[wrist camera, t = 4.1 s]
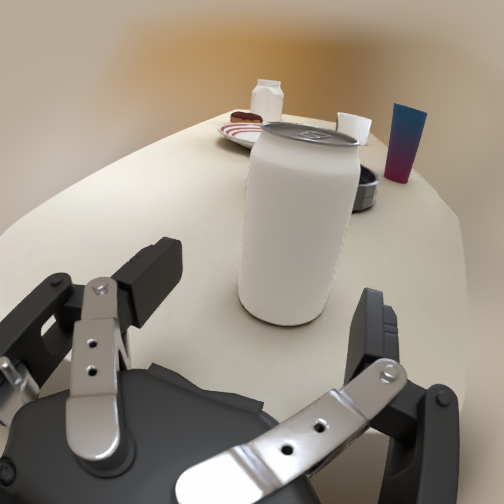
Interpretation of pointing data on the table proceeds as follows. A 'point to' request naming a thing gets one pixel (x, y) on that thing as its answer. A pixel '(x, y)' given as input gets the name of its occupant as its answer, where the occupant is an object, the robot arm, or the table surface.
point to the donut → (245, 118)
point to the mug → (354, 126)
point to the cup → (403, 142)
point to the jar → (267, 100)
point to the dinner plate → (241, 133)
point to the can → (295, 219)
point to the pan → (366, 189)
